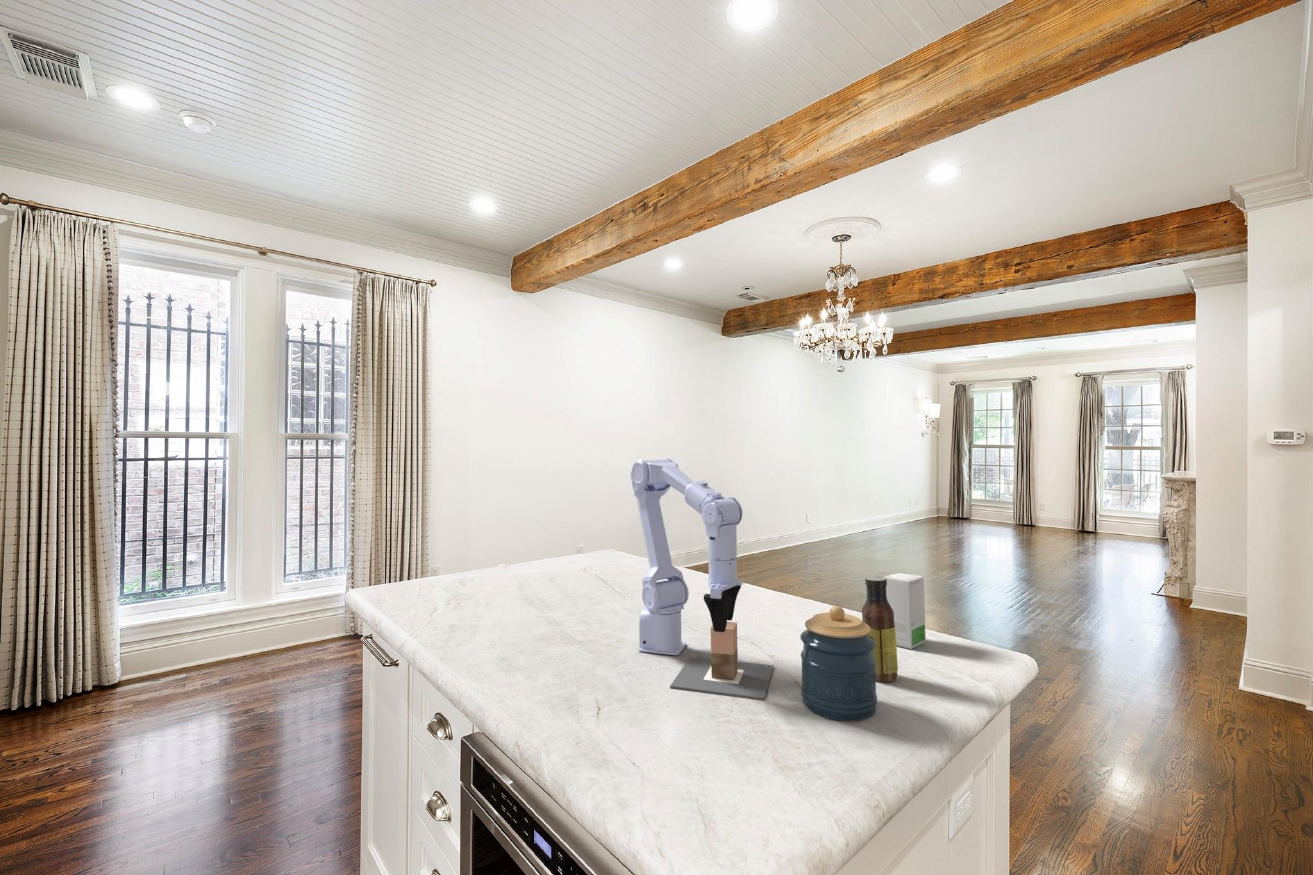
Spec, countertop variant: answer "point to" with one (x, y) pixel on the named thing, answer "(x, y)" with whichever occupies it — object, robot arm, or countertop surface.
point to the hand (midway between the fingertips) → (723, 625)
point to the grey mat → (746, 683)
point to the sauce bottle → (881, 628)
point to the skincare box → (907, 608)
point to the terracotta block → (724, 640)
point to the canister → (838, 666)
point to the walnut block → (724, 665)
